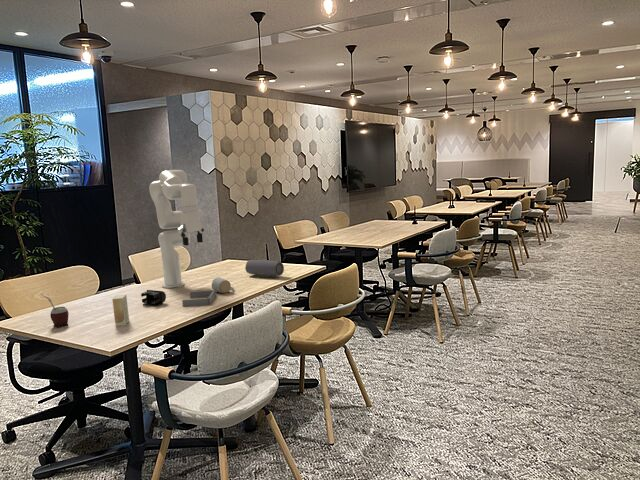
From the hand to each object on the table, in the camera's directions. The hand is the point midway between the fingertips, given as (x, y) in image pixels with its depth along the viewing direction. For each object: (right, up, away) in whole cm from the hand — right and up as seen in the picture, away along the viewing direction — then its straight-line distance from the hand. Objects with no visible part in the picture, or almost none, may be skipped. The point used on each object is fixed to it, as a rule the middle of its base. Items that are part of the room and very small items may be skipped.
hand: (193, 243), depth 254 cm
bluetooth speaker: (+31, -20, +49) cm, 62 cm away
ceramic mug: (+12, -26, +16) cm, 33 cm away
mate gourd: (-50, -36, -31) cm, 69 cm away
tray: (+3, -28, 0) cm, 29 cm away
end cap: (-19, -30, -1) cm, 36 cm away
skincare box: (-22, -35, -33) cm, 53 cm away
